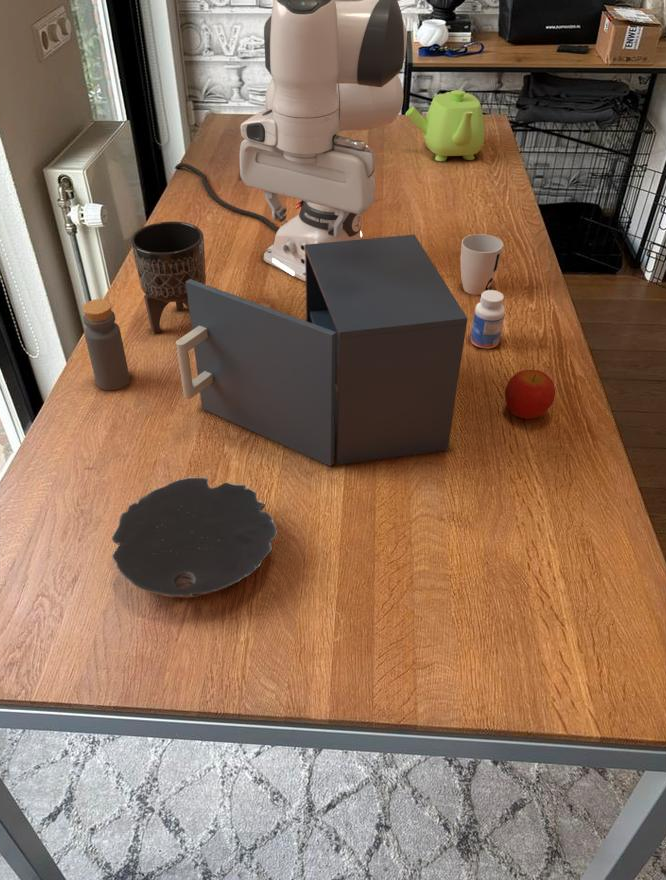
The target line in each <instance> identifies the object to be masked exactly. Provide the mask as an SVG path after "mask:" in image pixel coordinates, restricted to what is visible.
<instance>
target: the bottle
mask: <svg viewBox="0 0 666 880" xmlns="http://www.w3.org/2000/svg"><path fill="white" fill-rule="evenodd" d="M81 311H82V313H83V317H82V320H83V324H84V326H85V328H84V332H83V333H84V339H85V343H86V347H87V352H88V355H89V360H90V363H91V367H92V372H93V376H94V379H95V383H96V386H97V387H98V388H99V389H101V390H103V391H107V392H108V391H109V392H111V391H112V392H113V391H118V390H121V389H123V388H125V387H126V386H127V385H129V383H130V372H129V367H128V361H127V356H126V353H125V347H124V342H123V337H122V333H121V328H120V325H119V324H117V322H115V321H116V314H115V312H114V311H113V310H112V303H111V301H109V300H107V299H102V298H97V299H92V300H91V299H90V300H88V301H86V302H85V303H84V304H83V305H82V307H81Z"/></svg>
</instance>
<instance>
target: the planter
mask: <svg viewBox="0 0 666 880" xmlns="http://www.w3.org/2000/svg"><path fill="white" fill-rule="evenodd" d="M204 236H205V235H204V233H203V231H202V229H201V228H199V227H198V226H196V225H194V224H191V223H188V222H184V221H162V222H161V221H159V222H154V223H151V224H148V225H145V226H143V227H141V228H139V229H137V230H136V231H135V232H134V233H133V234H132V236H131V238H130V245H131V248H132V249H131V250H132V253H133V254H132V255H133V258H134V262H135V266H136V272H137V276H138V280H139V284H140V288H141V289H140V290H142V292H143V293H144V295H143V298H144V303H145V308H146V312H147V316H148V321H149V325H150V330H151V332H152V333H153V334H155V335H156V334H159V333H160V332H161V317H162V314H163V312H164V311H165V308H166V307H167V306H168V305H169V304H170V303H175V307H176V311H177V312H184V311H185V307H184V305H185V306H186V307H187V308H188V309H189V304H188V296H187V288H186V281H187V280H189V279H192V280H194V281H197V282H200V283H203V284H205V285H207V270H206V253H205V252H206V251H205V239H204V238H205V237H204Z"/></svg>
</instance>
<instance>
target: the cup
mask: <svg viewBox="0 0 666 880" xmlns="http://www.w3.org/2000/svg"><path fill="white" fill-rule="evenodd" d="M460 247H461V248H460V259H459V260H460V261H459V262H460V278H461V284H462V288H463V291H464V292H466V293H467V294H469V295H474V296H481V295H482V293H483V292H484V291H487V290H490V288H491V286H492V284H493V281H494V279H495V277H496V274H497V271H498V268H499V265H500V261H501V257H502V253H503V248H504V242H503V241H502V240H501V239H500V238H499V237H497V236H494V235H491V234H486V233H474V234H469V235H467V236H465V237H463V239H462V240H461V246H460Z"/></svg>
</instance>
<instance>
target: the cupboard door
mask: <svg viewBox="0 0 666 880" xmlns="http://www.w3.org/2000/svg"><path fill="white" fill-rule="evenodd" d="M186 288H187V296H188V304H189V308H188V310H189V311H188V312H189V318H190V326H191V330H190V331H189V332H187V333H186V334H184V335H182V337H180V338H179V339H177V340H175V346H176V352H177V360H178V367H179V373H180V379H181V386H182V387H181V388H182V393H183V394H182V395H183V397H184V398H185V399H187V400H189V399H193V398H194V397H195V396H197V395H198V394H200V403H201V409H202V410H204V411H206V412H208V413H211V414H213V415H215V416H216V417H217V416H218V417H220V418H222V419H224V420H226V421H228V422H231V423H233V424H235V425H238V426H239V427H241V428H244V429H246V430H249V431H251V432H253V433H255V434H257V435H259V436H262V437H264V438H266V439H268V440H271V441H273V442H275V443H278V444H279V445H282V446H284V447H286V448H288V449H291V450H293V451H295V452H297V453H299V454H302V455H304V456H306V457H309V458H311V459H313V460H315V461H317V462H320V463H321V464H324V465H326V466H328V467H332V465H334V464H335V457H334V428H335V370H336V332H334V331H332V330H329V329H326V328H323V327H321V326H318V325H315V324H312V323H310V322H307V321H306V320H304V319H301V318H298V317H297V316H293V315H291V314H288V313H285V312H282V311H279V310H278V309H277V310H276V309H274V308H271V307H269V306H266V305H263V304H260V303H258V302H254V301H252V300H250V299H246V298H244V297H241V296H238V295H236V294H233V293H229V292H227V291H224V290H222V289H219V288H216V287H214V286H211V285H208V284H206V285H205V284H203V283H200V282H197V281H194V280H192V279H189V280H187V281H186ZM192 349H194V357H195V364H196V371H197V372H196V373H197V376H195V377H194V378H193V377H192V370H191V363H190V356H189V355H190V354H189V351H191V350H192Z"/></svg>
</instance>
